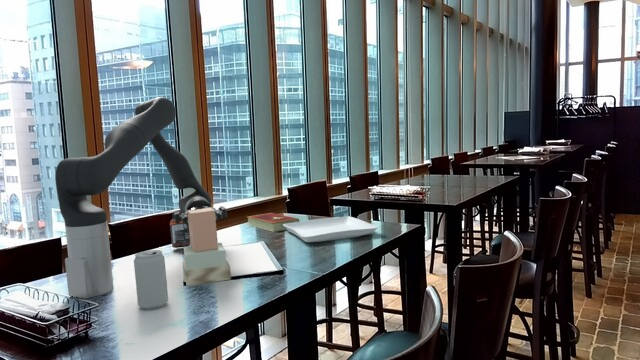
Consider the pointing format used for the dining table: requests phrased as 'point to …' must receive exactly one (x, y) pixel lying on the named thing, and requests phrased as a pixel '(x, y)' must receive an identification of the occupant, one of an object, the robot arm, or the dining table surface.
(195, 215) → the terracotta pillar block
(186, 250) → the sage top block
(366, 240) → the dining table surface
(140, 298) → the beverage can
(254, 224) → the hardcover book
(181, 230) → the supplement bottle
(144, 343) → the dining table surface
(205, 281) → the birch base block
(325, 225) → the square plate
